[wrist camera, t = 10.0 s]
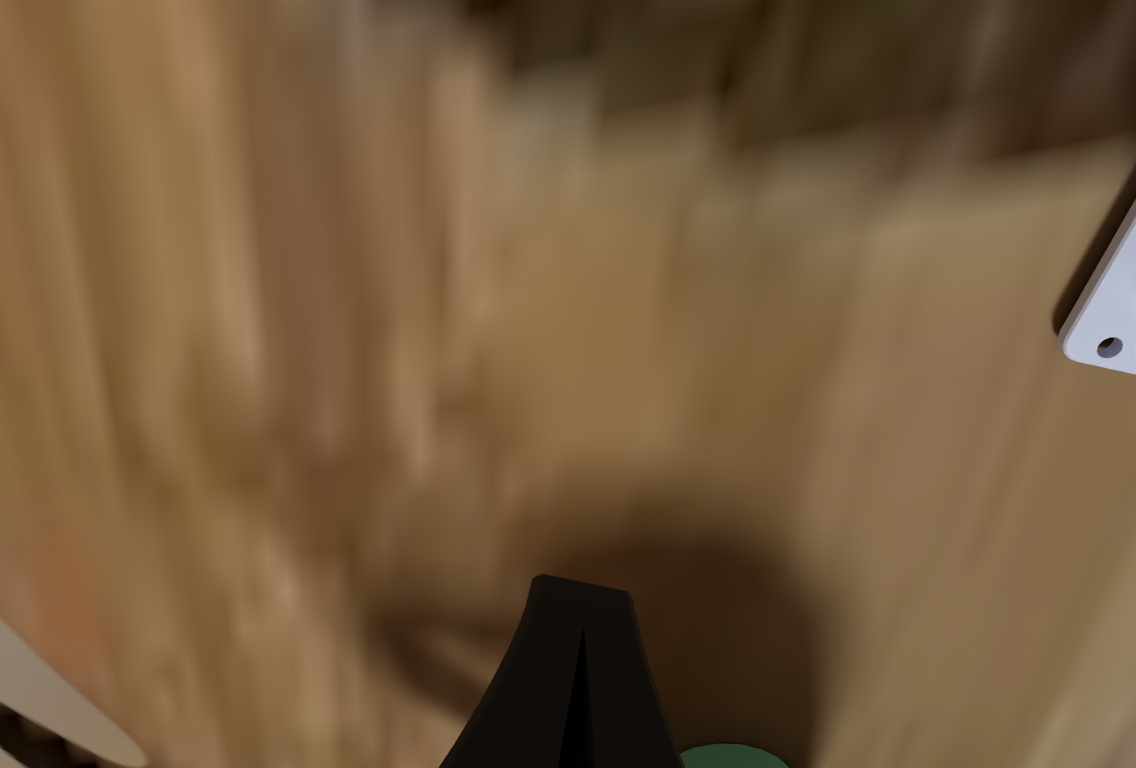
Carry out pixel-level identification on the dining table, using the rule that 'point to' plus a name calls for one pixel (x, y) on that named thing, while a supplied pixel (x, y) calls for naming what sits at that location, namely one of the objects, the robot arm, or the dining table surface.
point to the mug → (730, 757)
